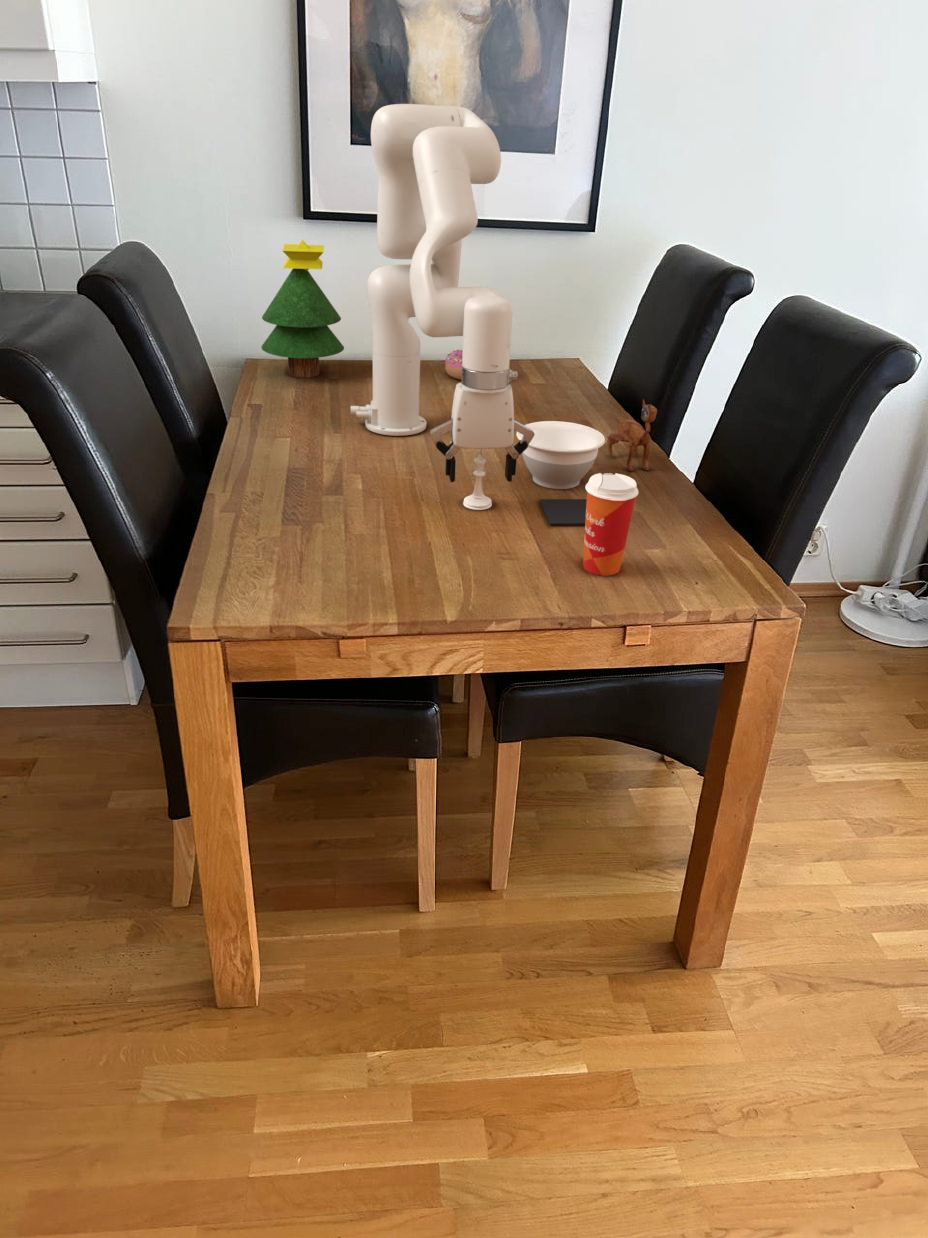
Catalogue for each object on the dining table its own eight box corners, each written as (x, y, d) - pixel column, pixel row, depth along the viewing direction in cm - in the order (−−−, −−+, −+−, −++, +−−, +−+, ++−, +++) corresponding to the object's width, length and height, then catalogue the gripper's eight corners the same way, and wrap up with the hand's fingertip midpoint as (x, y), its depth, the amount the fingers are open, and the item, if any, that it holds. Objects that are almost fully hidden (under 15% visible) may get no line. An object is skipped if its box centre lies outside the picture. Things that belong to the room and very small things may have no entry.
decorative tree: (266, 361, 230) (258, 231, 215) (344, 362, 233) (342, 233, 217) (260, 384, 214) (250, 245, 199) (344, 385, 216) (341, 247, 201)
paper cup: (571, 555, 145) (581, 470, 138) (620, 555, 146) (632, 471, 139) (581, 579, 138) (592, 491, 131) (632, 579, 139) (645, 492, 132)
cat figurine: (592, 443, 190) (600, 376, 183) (622, 441, 191) (631, 375, 185) (628, 476, 175) (638, 404, 168) (660, 474, 177) (672, 403, 170)
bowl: (576, 504, 162) (581, 457, 158) (497, 482, 169) (500, 437, 165) (613, 477, 174) (619, 433, 170) (538, 457, 181) (542, 414, 177)
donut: (503, 385, 222) (505, 364, 220) (443, 382, 222) (444, 361, 219) (502, 368, 235) (503, 348, 232) (445, 365, 234) (446, 345, 232)
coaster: (550, 526, 154) (550, 523, 154) (539, 501, 163) (539, 499, 163) (609, 525, 155) (609, 522, 155) (595, 501, 164) (595, 498, 164)
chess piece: (495, 501, 162) (499, 446, 157) (486, 512, 158) (490, 455, 153) (468, 496, 163) (471, 441, 158) (459, 507, 159) (461, 451, 154)
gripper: (534, 372, 154) (526, 471, 162) (429, 371, 152) (427, 471, 160) (542, 384, 147) (534, 487, 156) (433, 384, 145) (430, 487, 154)
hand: (480, 479), depth 158 cm, fingers open, 9 cm apart
